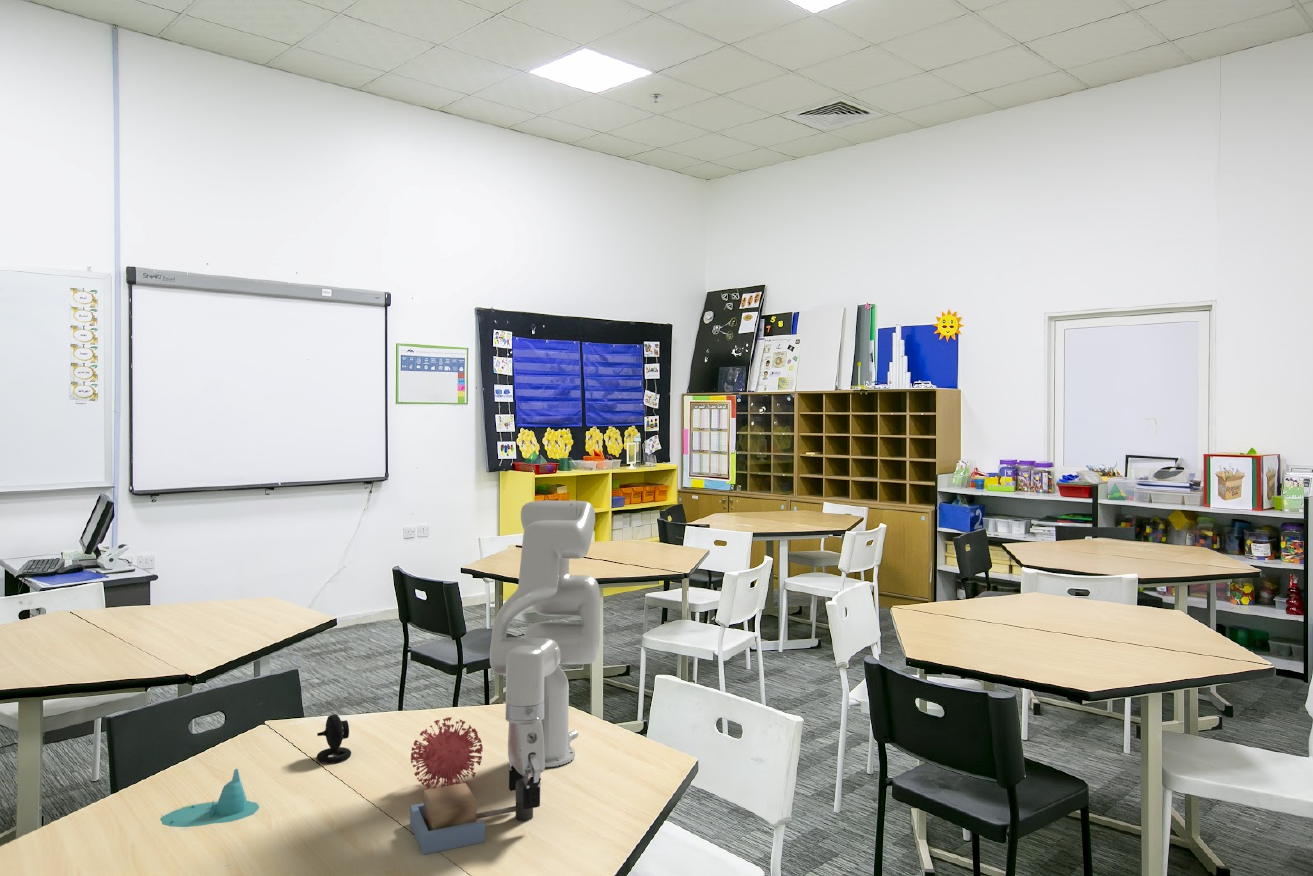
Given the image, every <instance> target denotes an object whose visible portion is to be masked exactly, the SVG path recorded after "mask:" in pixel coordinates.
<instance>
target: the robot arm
mask: <svg viewBox="0 0 1313 876" xmlns="http://www.w3.org/2000/svg"><path fill="white" fill-rule="evenodd" d="M520 522H521V526H522V528H523V535H522V544H521V552H520V553H521V554H520V566H519V574H518V576H519V577H518V586H517V589H516V590H515V591H514V592H513V593H512V594H511V595H510V596H509V597H508V598H507V600H506V601H505V602H504V603H503V604H502V606H501V607H500V608H499V611H498V612H497V614H496V616H495V619H494V621H493V625H492V631H491V640H490V647H489V648H490V649H489V665H490V667H491V670H492V671H493V672H494V673H496V674H497V675H501V676H502V675H503V676H505V720H506V721H507V722H508V733H507V734H508V735H507V756H508V757H507V758H508V761H509V763H508V769H509V770H508V789H509V791H511V792H512V791H516V781H517V780H519V779H522V778H524V783H525V787H524V788H523V808H524V809H530V808H533V809H536V808H540V806H541V784H542V783H541V780H542V778H541V774H542V773H543V772H545V768H555V767H559V765H560V766H563V764H564V765H566V763H567V764H568V762H569V763H571V762H572V761H573V760H574V759H575V757H574V756H576V751H575V749H574V748H573V746H571V743H572V741H574V740H575V739H577V738H578V737H579V732H578V730H576V729H574V730H573V729H572V730H571V731H569V710H570V709H569V708H570V707H569V706H570V705H569V703H570V701H569V699H570V697H569V689H570V688H569V680H568V677H567V675H566V673H565V671H564V670H563V669H562V667H561V666H560V665H590V664H592V663H595V662H596V661H597V659H598V656H599V652H600V640H601V639H600V638H601V636H600V635H601V633H600V632H601V631H600V630H601V625H600V624H601V621H600V620H601V591H600V586H599V583H598V581H597V579H595V578H594V577H593V576H591V575H585V574H584V575H583V574H581V575H580V574H577V575H576V574H575V575H573V574H570V559H572V560H573V559H574V560H576V559H583V558H585V556H587V554H588V552H589V551H590V547H591V542H592V538H593V534H594V529H595V525H596V512H595V508H594V506H593V505H592V504H591V503H590V502H588V501H585V500H584V501H583V500H550V499H548V500H545V499H544V500H533V501H528V502H526V503H525V504H523V505H522V507H521V510H520ZM531 607H532V608H533V610H534V612H535V613H537V614H538V615H541V616H550V617H577V618H579V619H580V621H579V622H578V621H577V622H576V621H575V622H574V621H569V622H568V621H541V622H535V623H533V624H531V625H530V626H528V628H526V630H525V632H524V636H523V637H507V635H508V630H509V627H510V625H511V623H512V621H513V620H514V619H515V617H516V616H517V615H519V614H520V613H522V612H523V611H525V610H526V609H529V608H531ZM573 758H574V759H573ZM571 760H572V761H571ZM529 776H530V777H529ZM528 778H529V780H528Z"/></svg>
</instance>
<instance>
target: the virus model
mask: <svg viewBox="0 0 1313 876" xmlns="http://www.w3.org/2000/svg"><path fill="white" fill-rule="evenodd" d="M452 718H453V717H446V718H443V719H442V720H443V722H442V723H441V725H442V726H441V725H440V721H441V720H440V719H436V720H434V721H433V723H434V724H435V725H436V726H437V728H438V734H437V733H436V731H435V730H434V728H433V725H429V727H430V728H431V729H432V731H433V733H432V732H428V729H426V728H425V730H422V731H421V732H420V733H419V737H421V736H422V737H423V739H422V742H423V743H422V742H420V741H419V740H417V739H416V740H414V743H413V746H411V752H410V753H411V754H410V764H412V768H415V767H416V769H415V770H416V771H415V772H414V776H415V777H417V776H418V777H417V778H416V779H417V780H418V782H419V783H421V785H422V786H424V787H426V789H428V788H429V789H430V786H431V785H432V788H431V789H433V788H437V786H438V785H439V783H442V784H441V786H440V787H444V786H450V785H455V784H461V780H462V781H463V782H462V783H466V784H467V785H468V784H469V781H468V780H466V778H468V777H469V774H471V777H472V778H473V779H474V778H475V776H476V772H475V771H474V770H475V767H474V766H475V763H476V764H477V765H478V766H481V763H482V760H483V755H482V753H483V744H482V739H481V738H480V737H479V734H478V731H477V729H476V728H475V727H473V728H472V725H470V724H469V725H468V727H467V728H465V727H464V725H465V724H466V720H462V719H461V718H460V719H459V721H455V724H456V725H455V724H454V723H451V724H447V723H450V722H451V720H452ZM457 725H458V726H457ZM459 727H460V728H459ZM453 729H454V730H453ZM460 731H461V732H460ZM471 734H472V735H471ZM424 742H426V743H427V744H424ZM477 747H478V748H477ZM473 753H475V754H478V755H473ZM475 760H476V761H475ZM414 762H415V763H416V764H413V763H414ZM421 768H423V769H421ZM420 769H421V770H420ZM419 770H420V771H419ZM423 771H424V772H423ZM421 773H422V774H421ZM420 774H421V775H420ZM419 775H420V776H419ZM462 777H463V778H462ZM454 781H455V782H454Z"/></svg>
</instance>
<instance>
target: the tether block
mask: <svg viewBox="0 0 1313 876" xmlns="http://www.w3.org/2000/svg"><path fill="white" fill-rule="evenodd" d="M529 779H530V777H528V780H529ZM524 787H525V783H524V778H522V779H519V780H517V781H516V790H515V805H514V806H509V807H504V808H498V809H492V810H488V811H482V812H479V813H478V812H477V802H478V801H477V799H476V798H475V796H474V795H473V793H472V791H471V789H470V787H468V784H466V783H463V782H462V783H461V782H460V784H455V785H450V786H449V785H448V786H447V785H446V786H444V787H443V786H442V787H441V786H440V787H436V788H429V789H428V788H426V789H424V790H423V803H424V822H425V824H426V826H427V829H428V831H431V830H437V829H442V828H447V827H452V826H457V825H462V824H467V823H472V822H477V820H480V819H484V818H489V817H494V816H498V815H505V814H509V813H514V812H515V819H516V820H517V821H519V822H527V820H528V821H530V820H532V819H533V818H534V808H530V809H524V808H523V788H524ZM529 819H530V820H529Z"/></svg>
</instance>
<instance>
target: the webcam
mask: <svg viewBox="0 0 1313 876" xmlns="http://www.w3.org/2000/svg"><path fill="white" fill-rule="evenodd" d="M349 735H350V725H349V722H348V720H347V719H346V720H342V719H341V718H340V716H339V715H338V714H331V715H329V716H328V717H327V719H326V722H325V730H323V731H321V732H317V737H323V736H324V737H325V739H326V743H327V745H328V748H325V749H323V750H321V751H319V752H318V753H317V755H316V760H317V761H318V762H320V763H322V764H337V763H341V762H344V761H346V760H348V759H349V758H350V757H351V755H352V751H351V750H350V748H348V747H344V746H343V747H342V746H341V745H342V741H343V740H345V739H348V738H349ZM334 754H340V755H335V756H331V755H334Z"/></svg>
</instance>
